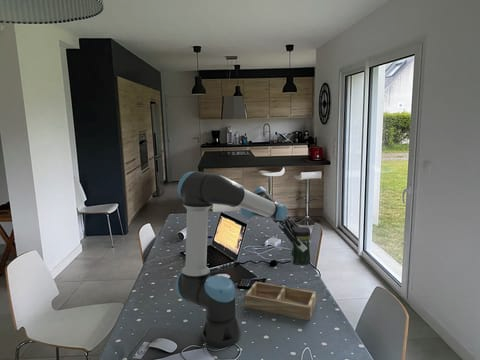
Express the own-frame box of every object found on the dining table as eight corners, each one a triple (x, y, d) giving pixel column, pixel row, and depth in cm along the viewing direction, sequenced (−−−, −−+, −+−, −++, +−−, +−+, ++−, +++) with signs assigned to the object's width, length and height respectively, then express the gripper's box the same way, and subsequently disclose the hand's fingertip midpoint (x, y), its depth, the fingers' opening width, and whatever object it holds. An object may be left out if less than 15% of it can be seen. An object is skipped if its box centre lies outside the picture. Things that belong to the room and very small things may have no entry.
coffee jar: (308, 259, 183) (309, 224, 180) (311, 266, 175) (312, 229, 172) (289, 259, 183) (290, 224, 180) (291, 266, 175) (292, 229, 172)
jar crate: (309, 320, 152) (309, 307, 151) (245, 307, 163) (244, 295, 162) (316, 303, 165) (316, 291, 164) (255, 292, 176) (255, 281, 175)
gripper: (277, 212, 191) (306, 244, 188) (264, 223, 172) (296, 259, 168) (286, 203, 188) (316, 235, 185) (275, 213, 169) (308, 250, 165)
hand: (307, 247), depth 177 cm, fingers closed on coffee jar, 8 cm apart
